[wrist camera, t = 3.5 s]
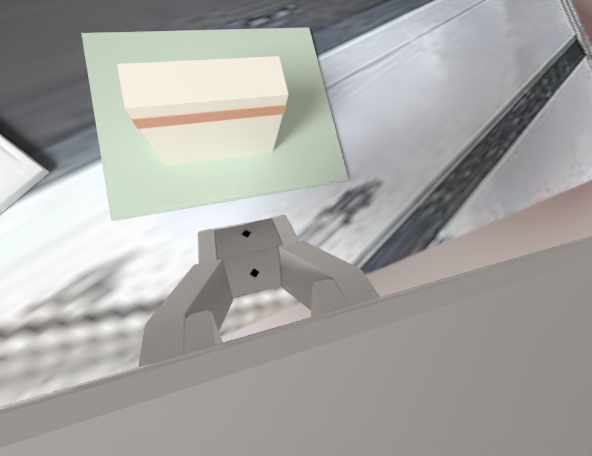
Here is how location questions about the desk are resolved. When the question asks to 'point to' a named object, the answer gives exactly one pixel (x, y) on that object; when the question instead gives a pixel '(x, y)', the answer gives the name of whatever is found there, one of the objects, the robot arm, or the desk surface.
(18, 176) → the external hard drive
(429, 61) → the desk surface
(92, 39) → the mat
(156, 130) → the card box
